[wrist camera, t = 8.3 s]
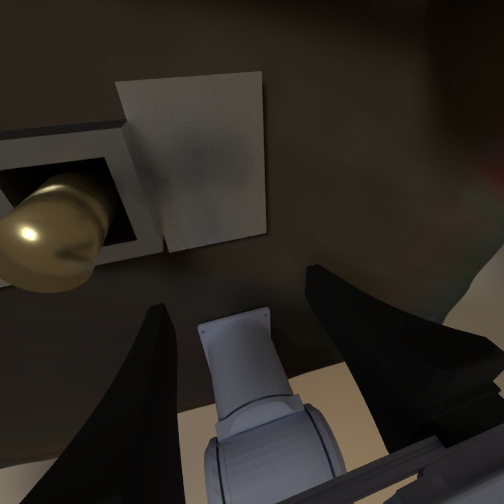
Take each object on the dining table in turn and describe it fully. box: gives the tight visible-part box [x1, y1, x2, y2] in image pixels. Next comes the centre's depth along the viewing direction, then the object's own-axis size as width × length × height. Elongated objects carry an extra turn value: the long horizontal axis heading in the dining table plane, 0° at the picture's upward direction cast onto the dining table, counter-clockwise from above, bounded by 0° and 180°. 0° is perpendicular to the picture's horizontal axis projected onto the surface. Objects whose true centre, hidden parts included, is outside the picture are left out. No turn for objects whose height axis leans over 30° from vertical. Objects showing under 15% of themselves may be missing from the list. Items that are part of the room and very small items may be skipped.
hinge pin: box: [0, 161, 121, 293], centre depth 13 cm, size 4×4×8 cm
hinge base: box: [0, 71, 266, 287], centre depth 15 cm, size 11×23×4 cm, turn 94°
